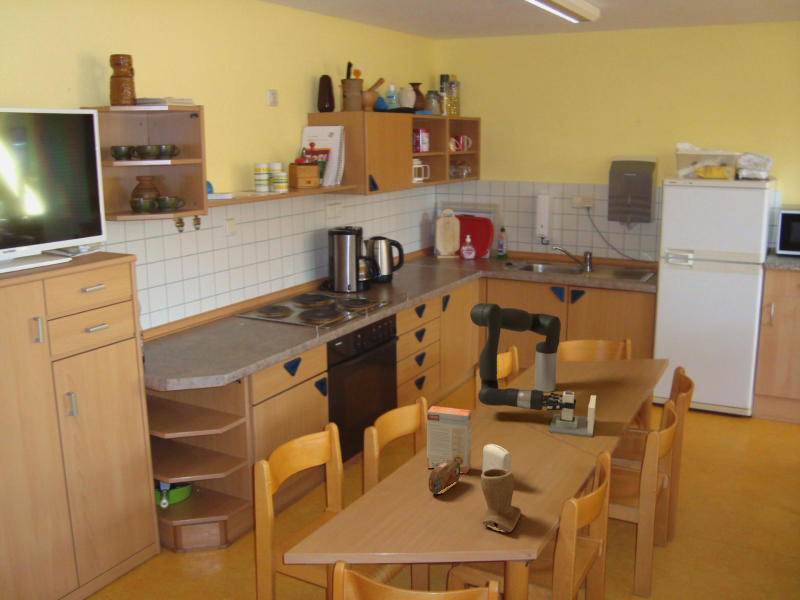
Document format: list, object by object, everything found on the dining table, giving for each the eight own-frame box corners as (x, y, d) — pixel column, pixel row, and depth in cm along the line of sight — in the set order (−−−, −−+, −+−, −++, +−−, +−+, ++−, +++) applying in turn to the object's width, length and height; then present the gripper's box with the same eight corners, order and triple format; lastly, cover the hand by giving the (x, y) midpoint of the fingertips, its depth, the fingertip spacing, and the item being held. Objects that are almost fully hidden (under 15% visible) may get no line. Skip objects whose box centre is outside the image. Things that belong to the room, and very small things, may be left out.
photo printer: (480, 477, 256) (481, 442, 253) (489, 474, 259) (490, 439, 256) (503, 489, 248) (504, 453, 245) (512, 485, 251) (513, 449, 248)
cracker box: (471, 467, 263) (472, 409, 259) (466, 475, 258) (468, 415, 253) (431, 461, 268) (432, 404, 263) (426, 469, 262) (426, 410, 257)
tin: (434, 499, 241) (435, 474, 240) (426, 496, 243) (426, 471, 241) (461, 481, 253) (461, 457, 251) (452, 479, 255) (453, 455, 253)
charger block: (562, 415, 301) (563, 389, 299) (572, 417, 300) (574, 390, 298) (561, 419, 298) (562, 392, 295) (571, 420, 296) (573, 393, 294)
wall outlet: (553, 415, 310) (554, 389, 307) (594, 420, 305) (596, 394, 303) (548, 432, 293) (550, 405, 290) (592, 437, 288) (594, 410, 286)
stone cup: (485, 505, 238) (487, 460, 234) (524, 512, 233) (526, 466, 230) (471, 529, 224) (472, 481, 221) (511, 537, 220) (513, 488, 216)
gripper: (528, 396, 294) (574, 401, 289) (533, 384, 307) (577, 389, 303) (527, 414, 296) (573, 420, 291) (532, 402, 309) (576, 407, 304)
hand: (575, 404), depth 297 cm, fingers closed on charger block, 4 cm apart
